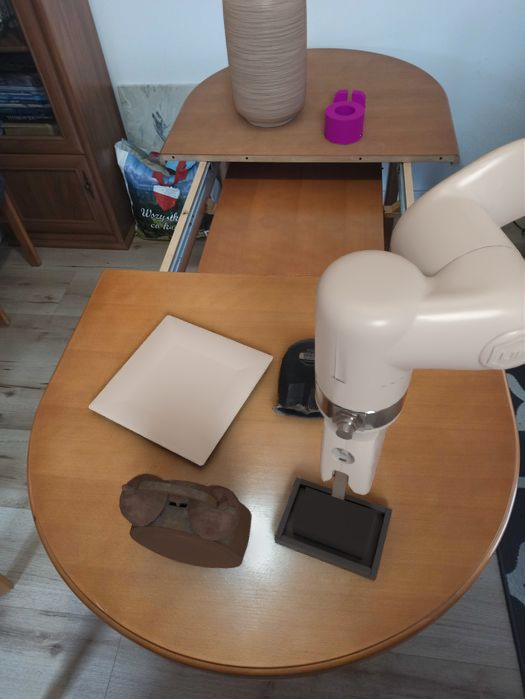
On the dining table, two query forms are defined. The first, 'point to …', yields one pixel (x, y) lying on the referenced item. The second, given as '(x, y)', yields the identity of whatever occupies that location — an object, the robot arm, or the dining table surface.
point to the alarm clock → (187, 520)
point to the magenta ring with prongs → (345, 117)
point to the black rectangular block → (334, 522)
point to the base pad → (329, 555)
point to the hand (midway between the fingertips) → (348, 475)
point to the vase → (267, 58)
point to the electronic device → (298, 382)
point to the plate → (182, 387)
